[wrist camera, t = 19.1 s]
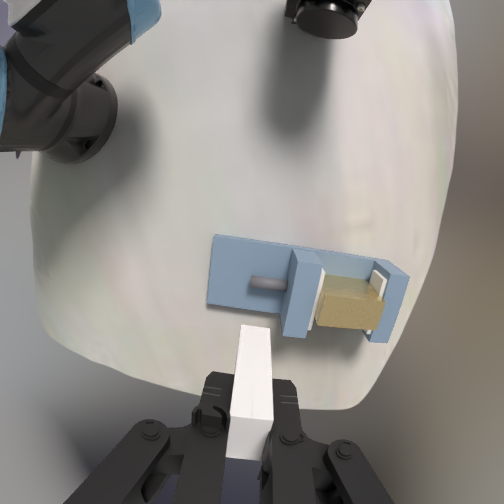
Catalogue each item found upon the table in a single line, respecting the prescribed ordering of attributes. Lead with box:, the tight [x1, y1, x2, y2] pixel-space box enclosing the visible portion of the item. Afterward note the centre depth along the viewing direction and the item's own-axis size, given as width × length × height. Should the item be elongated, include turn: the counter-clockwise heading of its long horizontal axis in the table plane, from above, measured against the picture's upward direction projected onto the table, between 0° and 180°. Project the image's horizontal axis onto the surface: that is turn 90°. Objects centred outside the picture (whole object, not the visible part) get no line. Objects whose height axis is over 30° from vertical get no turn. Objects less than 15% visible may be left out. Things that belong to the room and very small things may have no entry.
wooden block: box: [315, 274, 386, 330], centre depth 37 cm, size 8×4×8 cm, turn 82°
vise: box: [207, 234, 410, 343], centre depth 38 cm, size 26×10×8 cm, turn 82°
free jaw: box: [249, 248, 325, 338], centre depth 37 cm, size 9×10×6 cm
